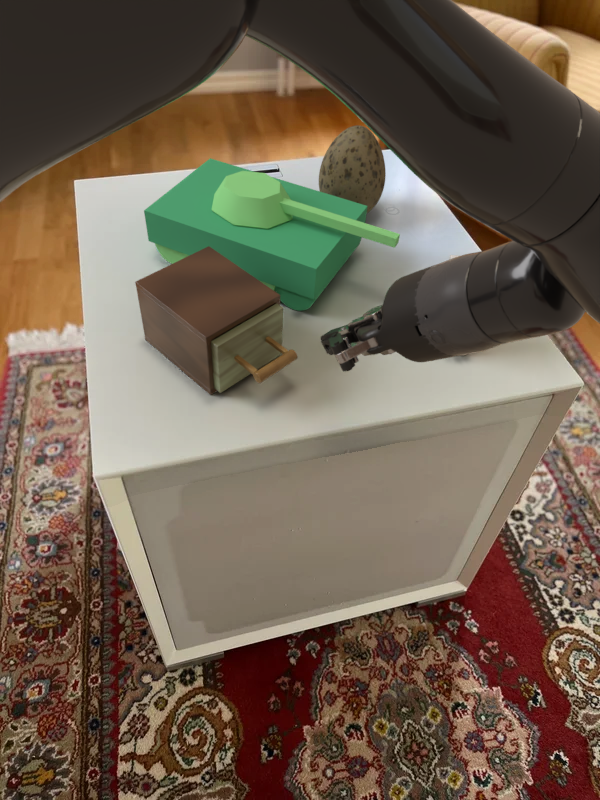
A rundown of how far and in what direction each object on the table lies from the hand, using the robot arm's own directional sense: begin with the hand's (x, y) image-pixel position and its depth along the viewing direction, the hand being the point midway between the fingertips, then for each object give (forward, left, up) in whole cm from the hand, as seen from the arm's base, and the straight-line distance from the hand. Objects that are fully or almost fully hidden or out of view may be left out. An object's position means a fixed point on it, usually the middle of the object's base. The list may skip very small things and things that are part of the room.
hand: (328, 343), depth 65 cm
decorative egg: (-3, +48, -14) cm, 50 cm away
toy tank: (-11, +31, -14) cm, 36 cm away
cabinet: (-16, +11, -14) cm, 25 cm away
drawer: (-13, +9, -13) cm, 21 cm away
